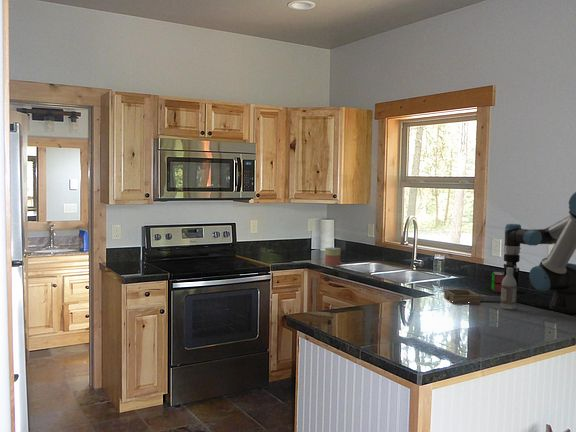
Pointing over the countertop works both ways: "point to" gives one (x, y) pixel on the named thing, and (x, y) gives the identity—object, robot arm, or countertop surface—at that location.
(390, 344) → the countertop surface
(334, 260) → the canned food
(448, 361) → the countertop surface
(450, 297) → the brown shallow tray
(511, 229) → the robot arm
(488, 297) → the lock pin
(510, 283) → the bath foam
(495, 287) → the puzzle cube
